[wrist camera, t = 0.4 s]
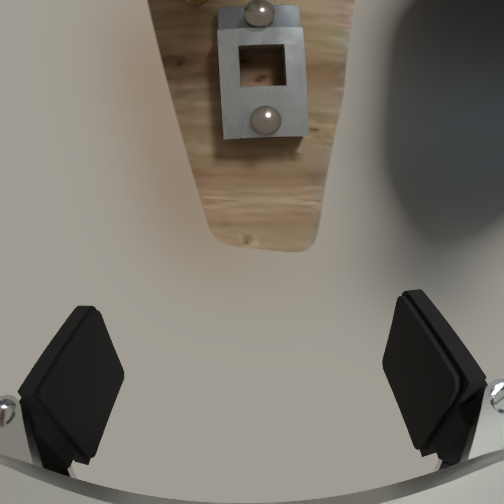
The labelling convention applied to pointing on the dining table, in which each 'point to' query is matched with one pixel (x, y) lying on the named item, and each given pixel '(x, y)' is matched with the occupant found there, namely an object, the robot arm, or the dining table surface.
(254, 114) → the grey block with knobs
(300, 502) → the robot arm
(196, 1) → the pin
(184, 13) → the dining table surface
